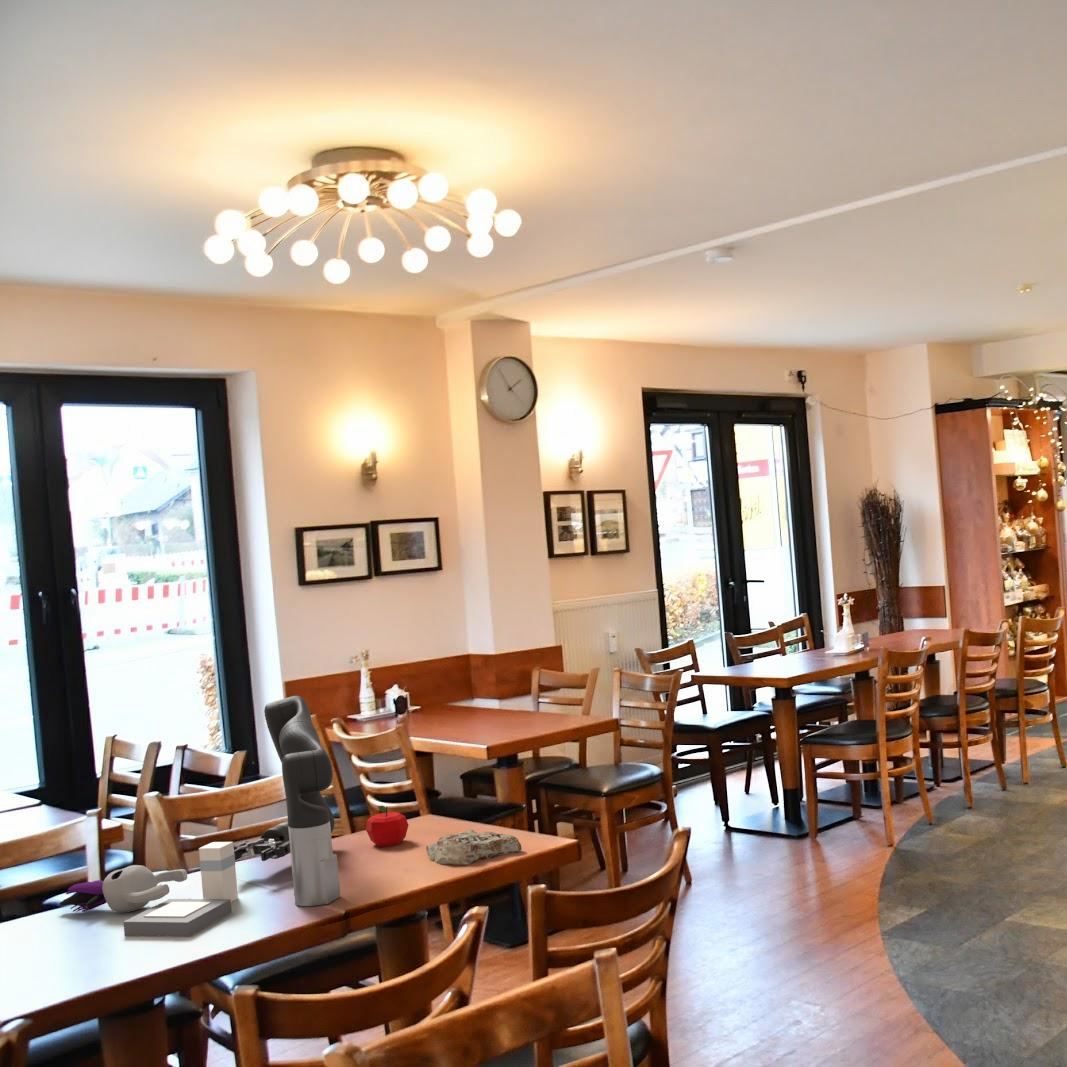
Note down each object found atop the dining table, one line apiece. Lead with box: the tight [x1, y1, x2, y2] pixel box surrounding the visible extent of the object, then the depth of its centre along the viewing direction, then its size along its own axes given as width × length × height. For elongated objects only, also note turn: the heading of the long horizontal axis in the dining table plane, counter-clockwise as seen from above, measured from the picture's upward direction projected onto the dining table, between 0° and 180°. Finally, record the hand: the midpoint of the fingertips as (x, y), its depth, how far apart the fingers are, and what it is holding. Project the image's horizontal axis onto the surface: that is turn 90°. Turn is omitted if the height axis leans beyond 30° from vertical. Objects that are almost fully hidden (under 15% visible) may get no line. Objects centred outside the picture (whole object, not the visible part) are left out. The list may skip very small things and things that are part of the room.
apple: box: [365, 805, 409, 848], centre depth 317 cm, size 11×11×10 cm
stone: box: [425, 829, 523, 866], centre depth 299 cm, size 19×6×25 cm
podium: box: [122, 898, 232, 938], centre depth 259 cm, size 16×16×3 cm
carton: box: [198, 841, 239, 903], centre depth 274 cm, size 6×6×13 cm
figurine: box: [59, 864, 188, 914], centre depth 275 cm, size 16×10×30 cm
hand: (246, 856), depth 286 cm, fingers open, 8 cm apart
